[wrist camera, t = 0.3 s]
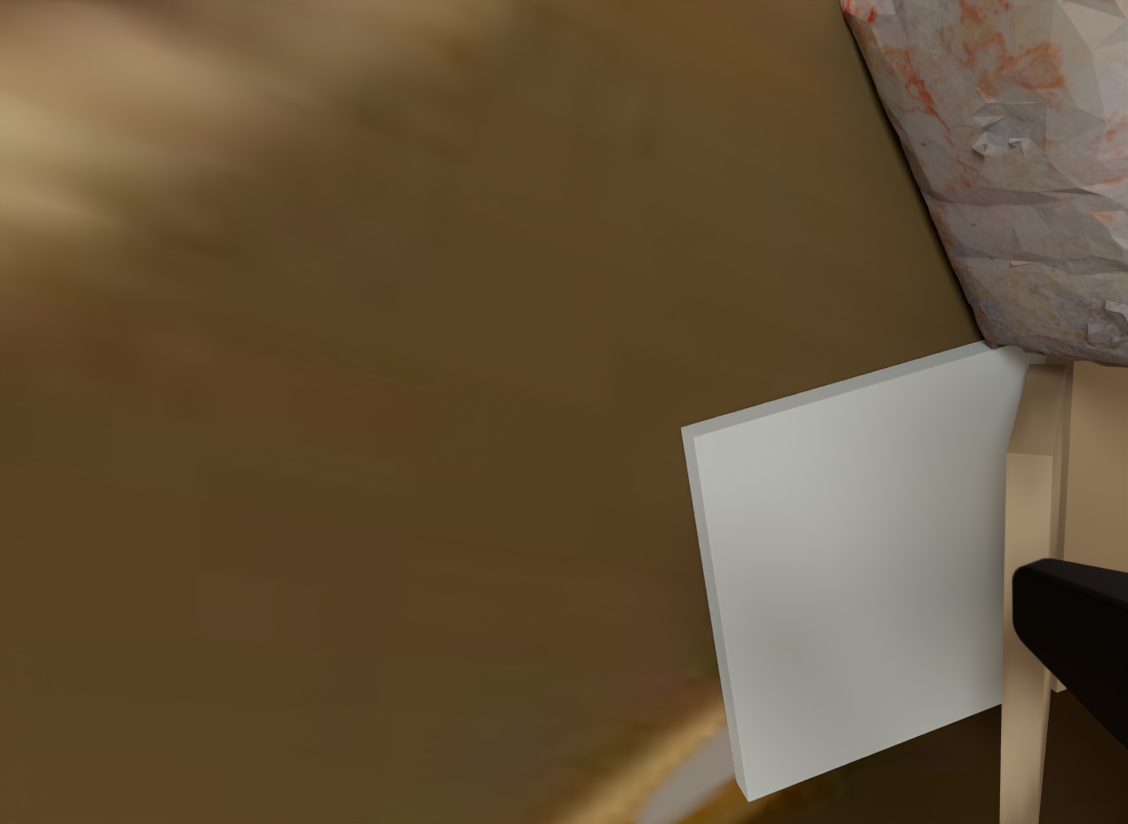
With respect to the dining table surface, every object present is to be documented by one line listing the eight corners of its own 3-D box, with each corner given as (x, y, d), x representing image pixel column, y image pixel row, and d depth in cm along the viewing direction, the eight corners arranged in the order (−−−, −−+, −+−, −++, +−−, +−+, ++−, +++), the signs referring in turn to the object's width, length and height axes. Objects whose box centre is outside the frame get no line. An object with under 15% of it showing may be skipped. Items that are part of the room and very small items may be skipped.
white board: (1144, 624, 30) (1193, 652, 28) (736, 781, 27) (761, 824, 25) (1180, 283, 25) (1242, 289, 23) (680, 427, 22) (707, 448, 20)
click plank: (1020, 689, 28) (1050, 696, 27) (999, 832, 23) (1036, 845, 22) (1029, 364, 23) (1066, 364, 22) (1006, 452, 18) (1052, 455, 17)
